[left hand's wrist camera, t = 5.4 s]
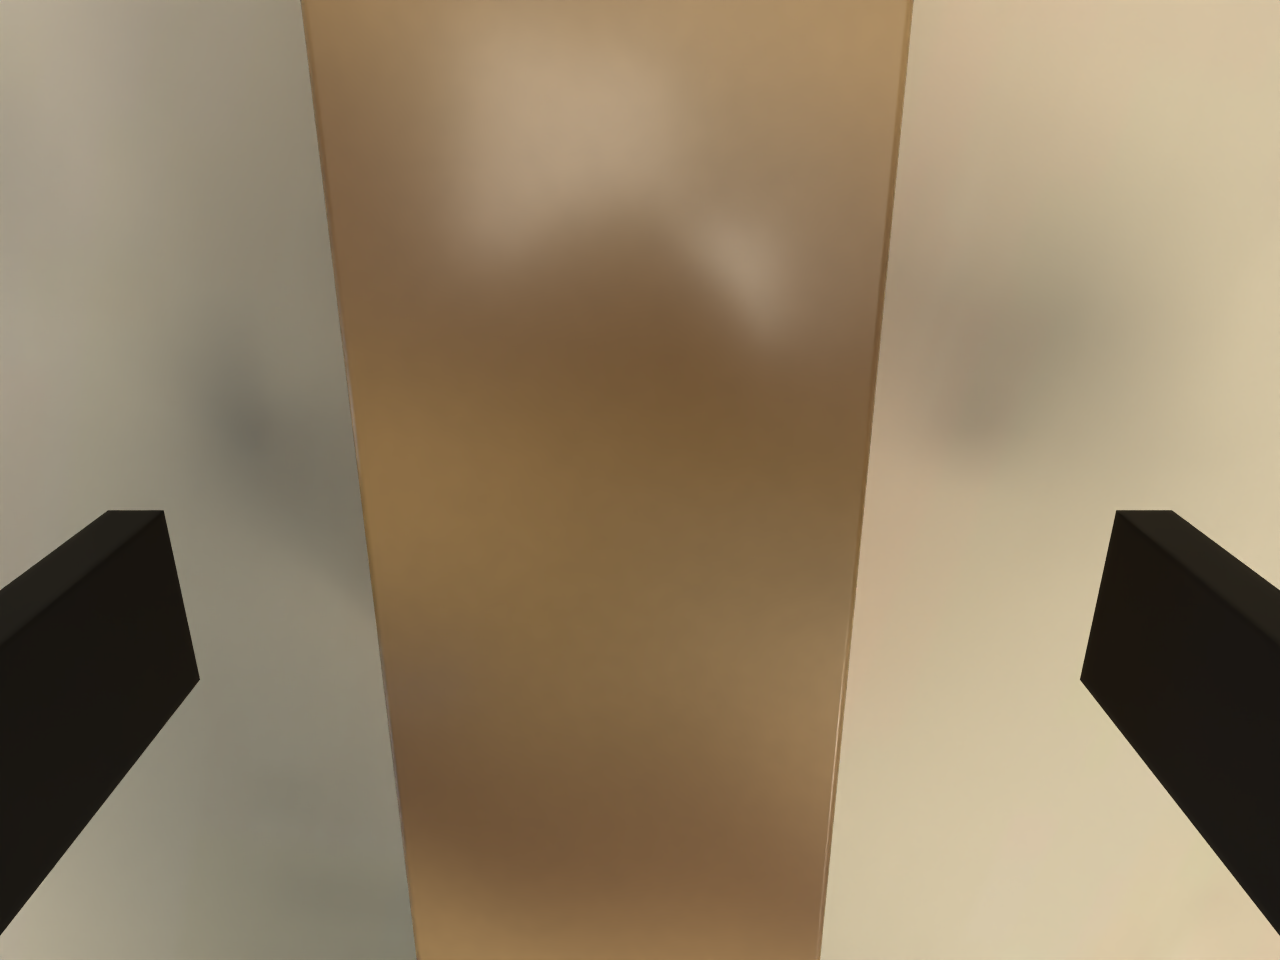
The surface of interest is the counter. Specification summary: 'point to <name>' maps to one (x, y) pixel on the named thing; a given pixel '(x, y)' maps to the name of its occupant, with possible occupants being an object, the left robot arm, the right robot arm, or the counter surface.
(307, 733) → the counter surface
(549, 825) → the post
